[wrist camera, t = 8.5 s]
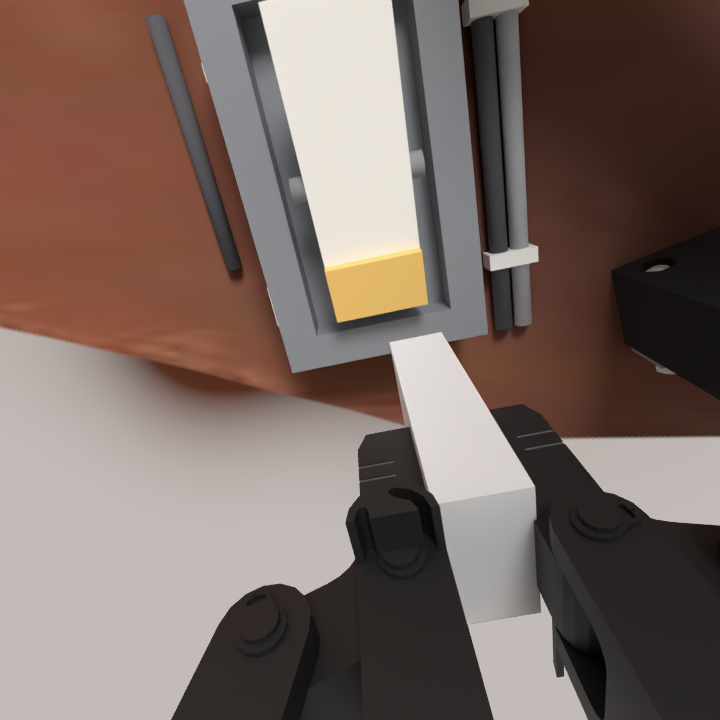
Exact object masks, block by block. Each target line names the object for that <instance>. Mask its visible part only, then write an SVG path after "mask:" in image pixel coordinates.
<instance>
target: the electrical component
mask: <svg viewBox="0 0 720 720" xmlns="http://www.w3.org/2000/svg"><path fill="white" fill-rule="evenodd" d="M611 272H612V277H613V283H614V288H615V293H616V298H617V303H618V309H619V314H620V319H621V324H622V329H623V335H624V340H625V344H626V345H628V346H630V347H631V351H633V352H635V353H636V354H638V355H640V356H641V357H643V358H645V359H646V360H648V361H650V362H651V363H653V364H655V365H656V371H657V372H660V373H663V374H677V375H679V376H680V377H682V378H684V379H685V380H687V381H689V382H690V383H692V384H694V385H696V386H697V387H699V388H701V389H702V390H704V391H706V392H707V393H709V394H711V395H712V396H714V397H716V398H718V399H719V400H720V227H718V228H715V229H713V230H710V231H708V232H706V233H703V234H701V235H698V236H696V237H693V238H691V239H688V240H686V241H683V242H681V243H678V244H676V245H673V246H671V247H669V248H666V249H664V250H661V251H659V252H656V253H654V254H651V255H649V256H646V257H644V258H641V259H639V260H636V261H634V262H632V263H629V264H627V265H624V266H622V267H619V268H617V269H614V270H612V271H611Z"/></svg>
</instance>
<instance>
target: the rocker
mask: <svg viewBox="0 0 720 720" xmlns="http://www.w3.org/2000/svg"><path fill="white" fill-rule="evenodd" d="M258 4H259V8H260V12H261V16H262V20H263V24H264V28H265V32H266V36H267V40H268V44H269V48H270V52H271V56H272V60H273V64H274V68H275V72H276V76H277V80H278V84H279V88H280V92H281V96H282V100H283V104H284V108H285V112H286V116H287V120H288V124H289V128H290V132H291V136H292V139H293V143H294V147H295V151H296V155H297V159H298V163H299V167H300V171H301V175H302V176H297V177H293V178H289V186H290V191H291V195H292V198H293V201H294V204H299V203H304V202H308V203H309V207H310V211H311V215H312V219H313V223H314V227H315V231H316V235H317V239H318V243H319V247H320V251H321V255H322V259H323V263H324V267H325V275H326V279H327V283H328V287H329V291H330V295H331V299H332V303H333V307H334V311H335V315H336V319H337V323H339V322H344V321H349V320H354V319H359V318H363V317H368V316H373V315H378V314H383V313H388V312H393V311H397V310H402V309H407V308H412V307H417V306H422V305H427V304H428V299H427V290H426V281H425V272H424V263H423V254H422V250H421V249H420V244H419V235H418V227H417V218H416V209H415V200H414V192H413V183H412V179H414V178H419V177H423V176H425V161H424V156H423V152H422V150H421V149H419V150H415V151H410V152H409V148H408V139H407V130H406V122H405V113H404V104H403V95H402V87H401V78H400V69H399V60H398V52H397V43H396V34H395V25H394V17H393V8H392V0H266V1H261V2H258Z"/></svg>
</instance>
